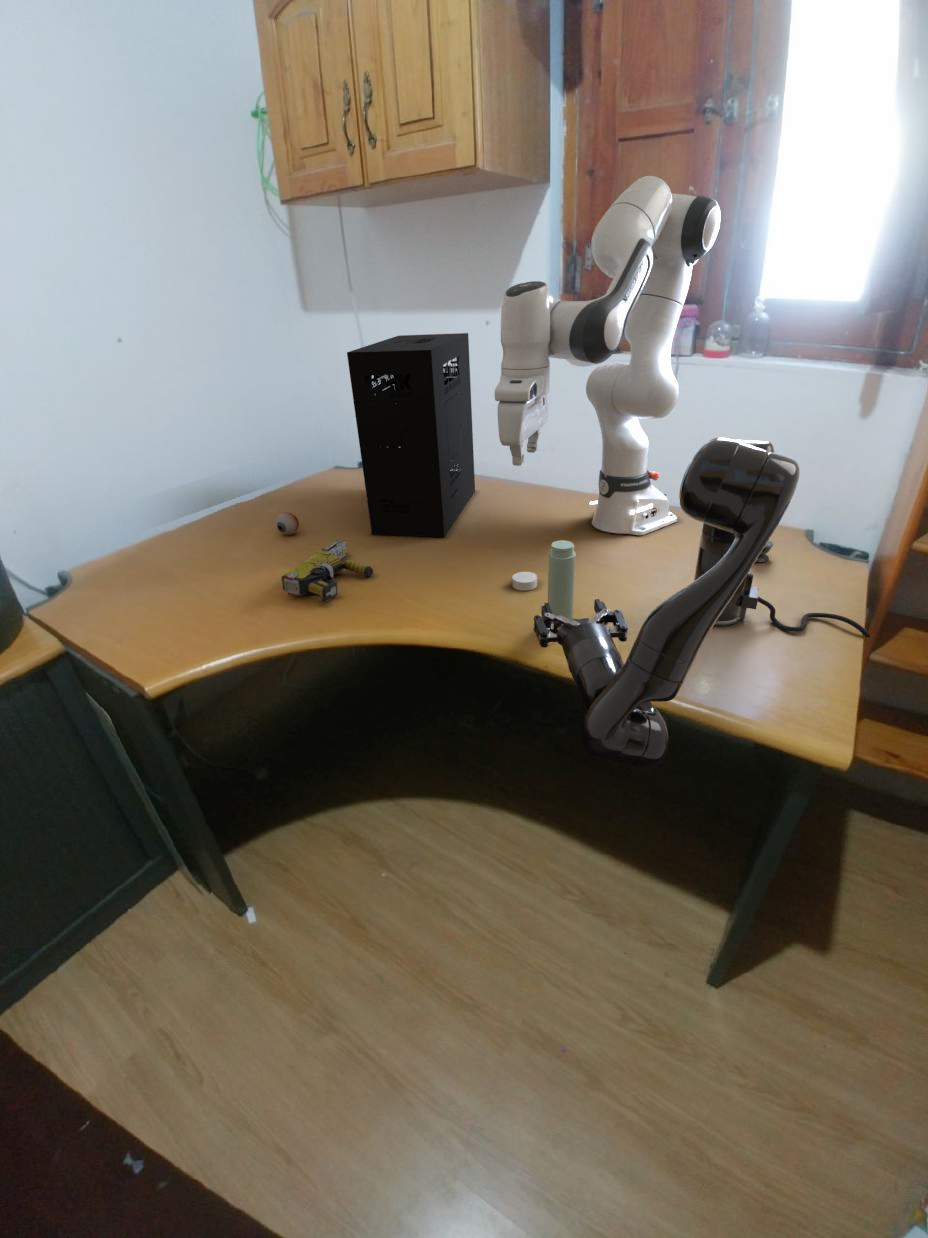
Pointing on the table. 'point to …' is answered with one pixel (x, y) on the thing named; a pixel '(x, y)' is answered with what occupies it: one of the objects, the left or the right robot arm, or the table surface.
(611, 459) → the left robot arm
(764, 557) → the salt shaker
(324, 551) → the toy gun
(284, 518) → the eyeball
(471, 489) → the black boxy piece
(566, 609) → the jar
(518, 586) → the lid
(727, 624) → the right robot arm
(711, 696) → the table surface
